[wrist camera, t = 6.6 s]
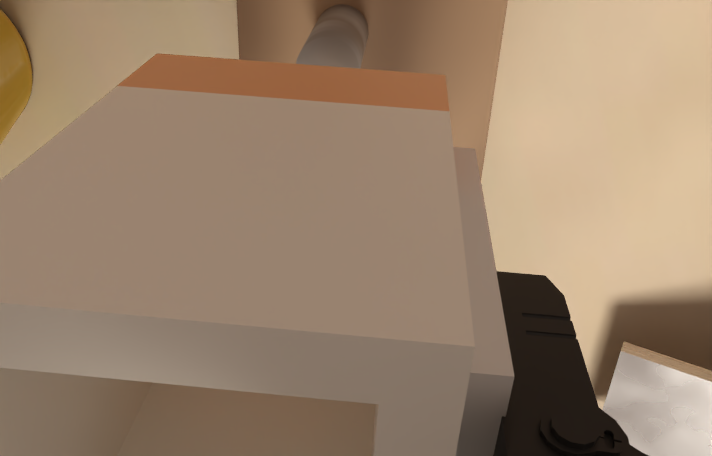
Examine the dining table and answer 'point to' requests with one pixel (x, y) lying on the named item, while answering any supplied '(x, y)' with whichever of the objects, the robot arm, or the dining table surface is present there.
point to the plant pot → (12, 75)
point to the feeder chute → (661, 403)
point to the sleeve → (238, 269)
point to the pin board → (389, 45)
